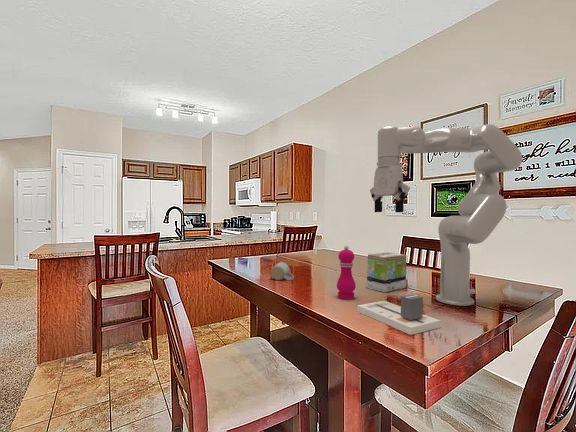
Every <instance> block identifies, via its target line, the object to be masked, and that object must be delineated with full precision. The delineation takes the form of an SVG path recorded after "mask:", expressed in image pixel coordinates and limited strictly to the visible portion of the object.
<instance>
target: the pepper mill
mask: <svg viewBox="0 0 576 432" xmlns="http://www.w3.org/2000/svg"><path fill="white" fill-rule="evenodd" d="M349 248H350V247H349V246H348V245H345V246H344V247H343V249H342V250H340V251H339V253H338V255H337V256H338V260H339V267H340V275H339V277H338V279H337V283H336V289H337V290H338V292H337V298H338V299H341V300H347V301H348V300H349V301H351V300H354V299H355V292H354V291H355V290H356V282H355V279H354V277H353V273H352V268H353V267H354V262H353V261H354V259H355V254H354V252H353V251H352V250H350V249H349Z"/></svg>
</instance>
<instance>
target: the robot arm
mask: <svg viewBox="0 0 576 432" xmlns="http://www.w3.org/2000/svg"><path fill="white" fill-rule="evenodd" d="M485 150H488V151H485ZM480 151H485V152H482V153H480V154H477V156H476V157H475V158H474V161H473V169H474V172H475V182H474V184H473V186H472V187H471V188H470V190H469V191H468V192H467V194H465V195H464V197H463V198H462V199H461V201H460V203H458V208H457V210H458V214H459V215H450V216H446V217H444V218H443V219H441V220H440V222H439V224H438V230H437V231H438V235H439V242H440V289H439V290H440V292H439V294H438V293H437V294H436V295H435V299H436V301H438V302H439V303H442V304H443V303H444V304H447V305H451V306H459V307H460V306H461V307H462V306H463V307H464V306H465V307H466V306H473V305H474V304H475V300H474V298H472V297H471V295H475V294H476V289H475V288H470V279H471V277H470V276H471V274H470V273H471V270H470V267H471V254H470V253H471V252H470V248H469V246H468V244H470V245H477V244H481V243H483V242H485V241H486V240H487V238H488V237H490V235H491V234H492V233H493V231H494V230H495V229H496V228H497V226H498V225H499V223H500V222H501V221H502V219H503V218H504V216H505V215H506V212H507V202H506V200H505V197H503V196H502V195H501V194H499V193H500V190H501V185H500V184H501V183H500V181H499V178H498V175H497V173H505V172H511V171H515V170H516V169H518V168H519V167H520V166H521V165H522V162H523V155H522V154H523V153H522V152H521V150H520V148H519V147H518V146H517V145H516V144H515V143H514V142H513V141H512V139H510V138H509V136H508V135H507V134H506V133H505V132H504V131H503V130H501V129H500V128H499V127H498V126H496V125H495V124H491V123H488V124H484V125H480V126H477V127H474V128H457V127H455V128H453V127H452V128H450V127H443V128H437V129H434V130H429V131H426V132H425V130H424V129H423V128H421V127H419V126H415V125H412V126H410V125H409V126H404V127H403V126H402V127H397V126H393V125H391V126H384V127H381V128H380V129H379V130H378V131H377V162H376V166H377V167H376V168H375V172H374V178H373V187H371V189H369V193H370V195H371V199H372V201H373V202H374V213H382V212H383V201H382V199H383V198H384V196H385V197H389V196H392V197H393V196H394V197H395V199H396V200H395V202H394V204H395V206H394V208H395V211H394V212H395V213H404V201H406V198H407V197H408V194H409V191H410V189H411V187H410V186H409V185H407V184H405V183H404V177H403V176H404V175H403V169H402V166H401V154H427V153H428V154H431V153H432V154H433V153H434V154H435V153H475V152H480Z"/></svg>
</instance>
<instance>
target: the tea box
mask: <svg viewBox="0 0 576 432" xmlns="http://www.w3.org/2000/svg"><path fill="white" fill-rule="evenodd" d="M366 268H367V271H366V288H367V289H370V290H374V291H378V292H381V293H388V292H391V291H396V290H400V289H404V288H405V289H406V286H407V254H403V253H396V252H389V251H388V252H379V253H370V254H367V267H366Z"/></svg>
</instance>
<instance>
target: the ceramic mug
mask: <svg viewBox="0 0 576 432" xmlns="http://www.w3.org/2000/svg"><path fill="white" fill-rule="evenodd" d="M270 275H271V277H272V279H273V280H275V281H282V280H283V279H285V280H287V281H293V280H294V278H295V277H294V275H293V273H291V270H290V267H289V265H288V264H287V263H285V262H282V261H281V262H278V263H276V264H275V265H273V267H272V268H271V271H270Z"/></svg>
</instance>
